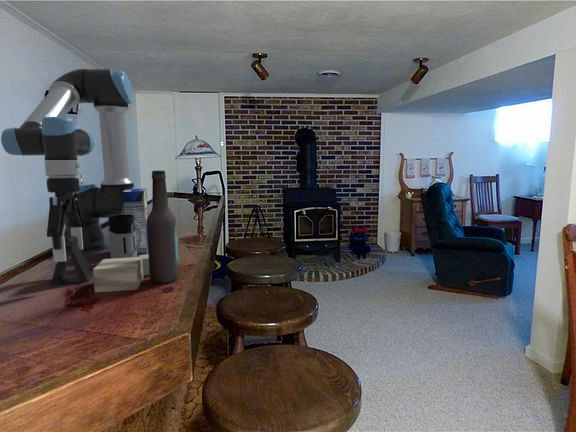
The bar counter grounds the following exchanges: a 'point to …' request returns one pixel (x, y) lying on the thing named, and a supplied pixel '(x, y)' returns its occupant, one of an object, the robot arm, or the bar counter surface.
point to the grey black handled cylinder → (123, 236)
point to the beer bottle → (161, 234)
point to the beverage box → (137, 214)
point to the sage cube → (145, 264)
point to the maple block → (118, 274)
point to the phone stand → (78, 262)
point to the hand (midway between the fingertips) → (69, 255)
